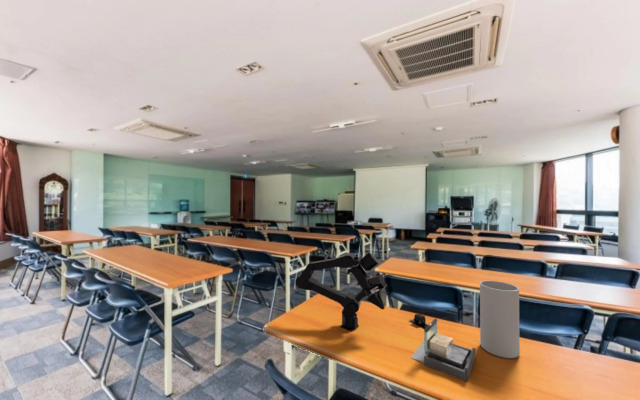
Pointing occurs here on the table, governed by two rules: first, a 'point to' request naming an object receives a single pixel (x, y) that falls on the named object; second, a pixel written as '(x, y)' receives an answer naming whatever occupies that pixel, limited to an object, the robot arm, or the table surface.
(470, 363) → the dock
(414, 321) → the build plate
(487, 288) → the cylinder vase
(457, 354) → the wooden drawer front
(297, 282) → the robot arm
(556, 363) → the table surface
